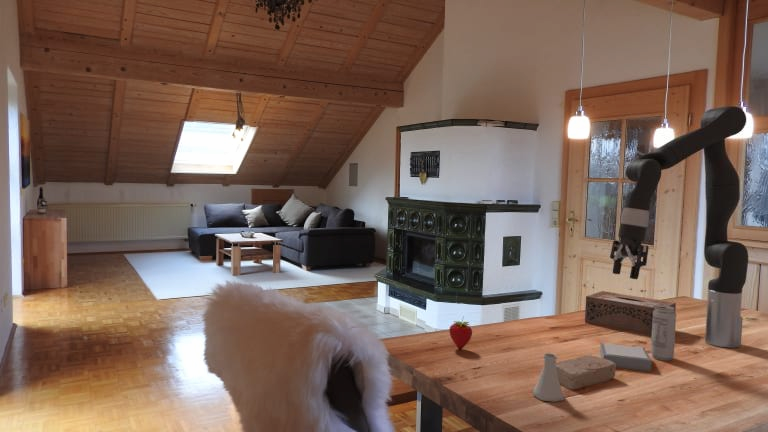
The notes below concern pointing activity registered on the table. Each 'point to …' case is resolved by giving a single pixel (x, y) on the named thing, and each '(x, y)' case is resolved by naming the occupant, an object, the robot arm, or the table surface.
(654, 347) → the energy drink can
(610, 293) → the tissue box cover
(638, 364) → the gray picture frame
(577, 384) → the brick
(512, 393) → the table surface
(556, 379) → the flask
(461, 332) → the strawberry
